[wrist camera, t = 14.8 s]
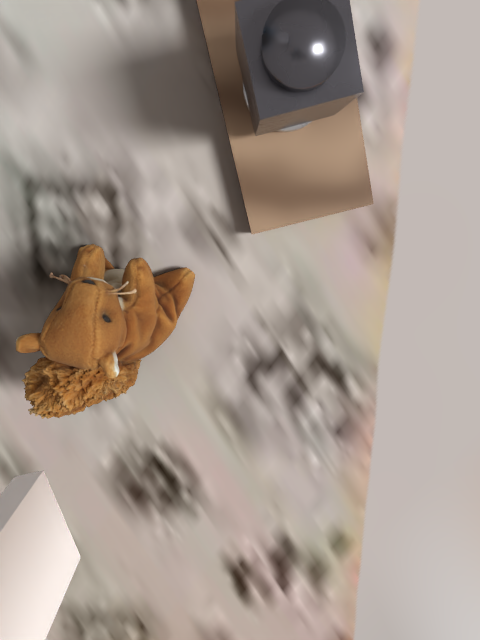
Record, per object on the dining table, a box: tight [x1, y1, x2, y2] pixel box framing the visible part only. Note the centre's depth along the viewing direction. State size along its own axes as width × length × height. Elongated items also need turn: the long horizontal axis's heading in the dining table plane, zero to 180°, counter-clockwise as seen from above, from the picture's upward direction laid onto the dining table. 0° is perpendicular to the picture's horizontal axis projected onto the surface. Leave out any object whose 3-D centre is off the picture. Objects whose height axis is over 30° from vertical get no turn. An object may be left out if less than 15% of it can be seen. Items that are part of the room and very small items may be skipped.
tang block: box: [196, 0, 373, 234], centre depth 32 cm, size 20×10×6 cm, turn 14°
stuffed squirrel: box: [16, 244, 195, 419], centre depth 33 cm, size 10×14×13 cm
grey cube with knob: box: [235, 0, 364, 136], centre depth 28 cm, size 6×6×9 cm
